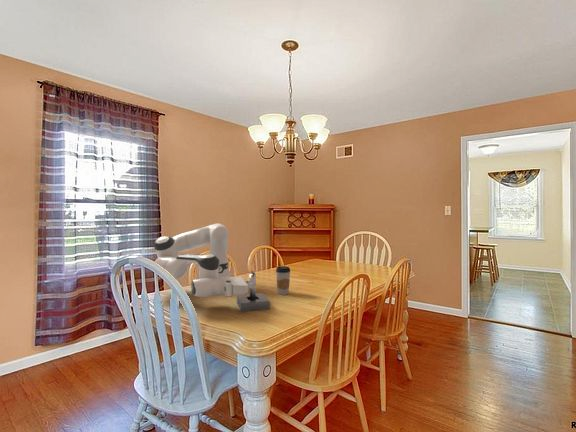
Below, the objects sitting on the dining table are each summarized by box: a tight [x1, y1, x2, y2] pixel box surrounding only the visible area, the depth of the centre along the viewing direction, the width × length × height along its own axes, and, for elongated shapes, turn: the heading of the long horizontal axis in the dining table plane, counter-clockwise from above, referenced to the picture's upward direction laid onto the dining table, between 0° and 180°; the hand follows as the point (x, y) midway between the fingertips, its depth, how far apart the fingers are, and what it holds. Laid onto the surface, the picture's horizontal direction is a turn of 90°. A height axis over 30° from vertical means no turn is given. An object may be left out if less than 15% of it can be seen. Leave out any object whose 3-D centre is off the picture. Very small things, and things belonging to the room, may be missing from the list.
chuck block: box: [236, 293, 271, 313], centre depth 155 cm, size 14×14×4 cm
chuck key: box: [249, 270, 257, 300], centre depth 154 cm, size 5×3×14 cm, turn 17°
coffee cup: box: [275, 265, 291, 296], centre depth 178 cm, size 8×8×15 cm
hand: (254, 283), depth 154 cm, fingers closed on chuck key, 3 cm apart
